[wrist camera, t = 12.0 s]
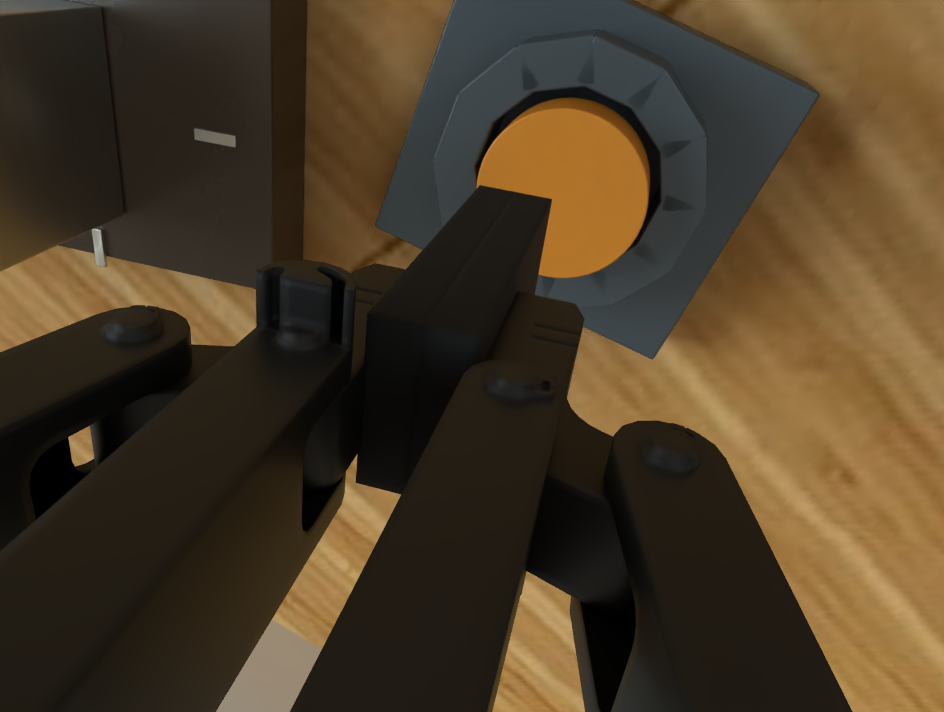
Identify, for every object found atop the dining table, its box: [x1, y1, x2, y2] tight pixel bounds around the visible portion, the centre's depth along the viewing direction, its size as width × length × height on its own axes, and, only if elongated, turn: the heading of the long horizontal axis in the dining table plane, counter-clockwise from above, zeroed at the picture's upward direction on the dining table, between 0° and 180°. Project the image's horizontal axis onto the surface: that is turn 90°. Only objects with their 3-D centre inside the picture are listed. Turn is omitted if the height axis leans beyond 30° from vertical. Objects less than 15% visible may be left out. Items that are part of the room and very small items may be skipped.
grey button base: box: [375, 0, 820, 359], centre depth 22 cm, size 10×9×4 cm
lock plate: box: [59, 0, 307, 289], centre depth 25 cm, size 13×11×3 cm
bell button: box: [477, 97, 650, 278], centre depth 20 cm, size 4×4×2 cm
